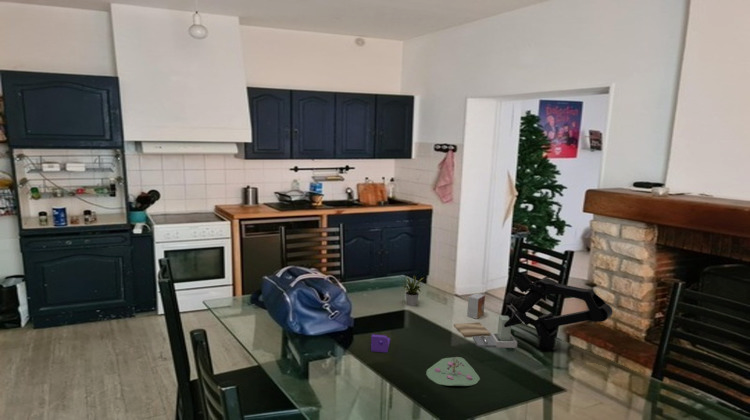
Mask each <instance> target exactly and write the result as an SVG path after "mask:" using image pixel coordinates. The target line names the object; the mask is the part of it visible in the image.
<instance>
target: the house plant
mask: <svg viewBox="0 0 750 420" xmlns="http://www.w3.org/2000/svg"><path fill="white" fill-rule="evenodd" d="M400 277H401V278H403V276H402V275H401V276H400ZM405 277H406V278H405V279H404V280H402V281H401V282H404V284H403V285H402V287H403V288H404V289H405V300H406V306H409V307H415V306H417V305H418V301H419V300H418V299H419V294H420V293H419V292H421V291H422V290H421V289H420V288H422V286H420V285H419V283H421V282H422V280H424V277H421V278H420V279H419V280H418V281H417V280H416V279H417V276H415V274H414V275H413V277H412V281H411V280H410V277H409V276H408V275H406V276H405ZM416 281H417V282H416ZM418 291H419V292H418Z"/></svg>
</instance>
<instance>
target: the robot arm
mask: <svg viewBox="0 0 750 420" xmlns="http://www.w3.org/2000/svg"><path fill="white" fill-rule="evenodd" d="M512 283H513V285H514V286H515V287H516V288H517V289H518V291H520V292H521V293H524V294H525V295H524V296H522V295H519V296H517V295H514V294H513V293H511V292H507V293H506V295H505V297H504V302H505V307H506V309H505V311H504V314H503V315H502V316H508V317H509V318H510V319H509V320H508V321H507V322H506V323H505V324H504V327H509V326H511V327H512V326H516V325H521V324H522V325H523V324H524V325H525V326H528V325H529V324H530V323H531V320H530V318H529V317H528V316H527V314H526V313H528V312H529V311H530V310H531V311H533V310H534V307H535V305H537V304H538V303H539V302H540V301H541V300H542V301H544V302H545V303H546V302H547V296H548V295H561V296H565V297H570V298H575V299H580V300H583V301H584V302H585V304H586V306H587V308H588V309H587V310H582V311H577V312H571V313H567V314H561V315H553V312H550V313H544V314H542V315H540V316H539V317H537V319H535V320H534V322H533V327H534V329H535V331H536V334H537V336H538V343H535V347H537V348H538V349H539V350H540V351H542V352H554V351H557V349H556V348H555V347H554V345H555V344H554V343H555V334H557V332H558V328H557V327H561V326H565V325H566V326H567V325H570V324H577V323H583V322H593V323H598V322H600V323H603V322H605V321H606V320H608V319H609V318H610V317H612V315H613V313H614V311H613V308H612V307H611V306H610V305H609V304H607V303H606V302H605V300H604V299H603V298H602V297H600V296H599V295H598V294H596V292H595V291H594V290H593V289H591V288H582V287H579V286H578V287H577V286H572V285H568V284H562V283H559V282H557V281H556V280H554V279H550V278H547V277H545V278H542V279H540V280H535V281H532V280H531V279H530V278H529V277H528V275H527V274H526V273H522V274H521V275H519V276H518V277H517V278H516V279H515V280H513V282H512Z"/></svg>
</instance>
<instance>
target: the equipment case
mask: <svg viewBox="0 0 750 420" xmlns="http://www.w3.org/2000/svg"><path fill="white" fill-rule="evenodd" d="M472 339H473V341H474V343H475V344H476V347H477V348H500V349H501V348H505V349H506V348H509V349H515V348H518V341H517V340H516V338H515V337H514V336H513V334H512V333H511V332H510V341H501V340H500V339H499V337H498V332H490V336H484V335H481V336H473V337H472Z"/></svg>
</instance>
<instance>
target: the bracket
mask: <svg viewBox="0 0 750 420" xmlns="http://www.w3.org/2000/svg"><path fill="white" fill-rule="evenodd" d="M370 340H371V342H370V351H371V352H375V353H376V352H377V353H388V351H389V347H390V344H391V337H388V336H387V335H382V334H373V333H372V334H371V339H370Z"/></svg>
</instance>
